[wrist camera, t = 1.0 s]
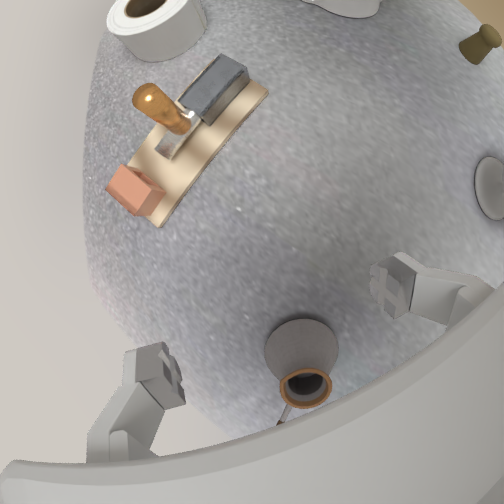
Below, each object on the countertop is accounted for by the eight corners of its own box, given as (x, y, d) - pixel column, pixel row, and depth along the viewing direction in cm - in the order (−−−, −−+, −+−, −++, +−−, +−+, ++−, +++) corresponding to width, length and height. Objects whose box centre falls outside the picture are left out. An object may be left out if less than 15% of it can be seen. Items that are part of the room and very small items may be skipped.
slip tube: (223, 74, 36) (199, 23, 22) (239, 83, 36) (220, 32, 22) (158, 150, 39) (108, 127, 25) (173, 162, 39) (125, 141, 25)
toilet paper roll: (223, 12, 37) (210, -24, 26) (177, 70, 39) (152, 40, 28) (161, 1, 37) (142, -27, 26) (118, 55, 39) (89, 31, 29)
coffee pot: (282, 301, 42) (283, 344, 28) (347, 326, 42) (374, 375, 27) (233, 400, 46) (218, 457, 31) (290, 419, 45) (291, 477, 31)
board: (216, 62, 38) (214, 58, 37) (268, 93, 38) (268, 89, 37) (117, 188, 43) (112, 187, 41) (161, 227, 43) (157, 227, 41)
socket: (138, 168, 40) (121, 163, 35) (166, 192, 40) (151, 189, 35) (123, 191, 41) (105, 189, 36) (150, 215, 41) (134, 216, 36)
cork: (460, 56, 32) (487, 34, 21) (456, 37, 31) (480, 14, 21) (481, 69, 32) (508, 50, 21) (477, 49, 31) (501, 30, 20)
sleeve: (226, 67, 37) (220, 53, 32) (250, 81, 37) (246, 67, 32) (187, 111, 38) (176, 100, 34) (210, 126, 38) (201, 116, 34)
